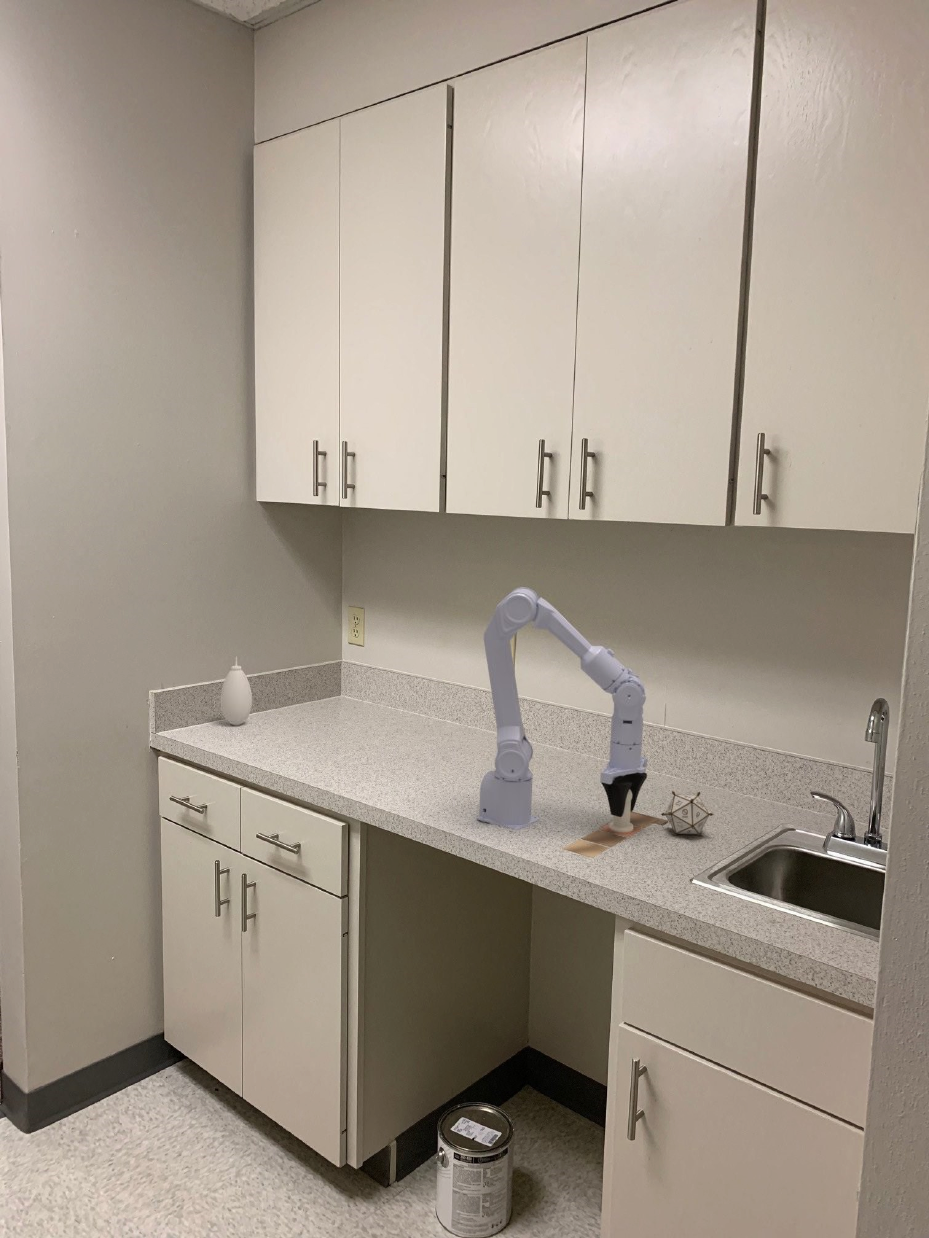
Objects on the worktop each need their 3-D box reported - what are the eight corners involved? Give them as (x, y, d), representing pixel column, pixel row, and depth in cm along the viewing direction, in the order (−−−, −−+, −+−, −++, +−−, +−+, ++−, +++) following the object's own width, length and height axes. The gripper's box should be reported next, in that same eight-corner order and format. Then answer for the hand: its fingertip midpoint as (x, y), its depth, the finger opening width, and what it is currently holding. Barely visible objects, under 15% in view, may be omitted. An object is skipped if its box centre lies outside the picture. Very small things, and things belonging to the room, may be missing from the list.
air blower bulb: (240, 729, 240) (240, 659, 237) (214, 726, 242) (214, 657, 240) (257, 723, 247) (257, 655, 244) (232, 719, 250) (232, 652, 247)
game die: (688, 851, 176) (714, 805, 178) (701, 851, 168) (728, 803, 170) (647, 824, 177) (673, 779, 179) (658, 823, 169) (685, 776, 171)
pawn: (604, 829, 174) (607, 786, 173) (616, 823, 178) (618, 781, 177) (626, 835, 172) (628, 791, 171) (637, 828, 175) (639, 786, 174)
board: (551, 850, 164) (551, 847, 164) (626, 811, 186) (626, 809, 186) (597, 863, 159) (597, 861, 159) (668, 822, 181) (668, 820, 181)
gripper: (627, 753, 165) (622, 827, 166) (663, 737, 176) (659, 807, 178) (591, 745, 169) (588, 818, 171) (629, 731, 180) (625, 799, 182)
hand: (622, 812), depth 175 cm, fingers open, 4 cm apart
